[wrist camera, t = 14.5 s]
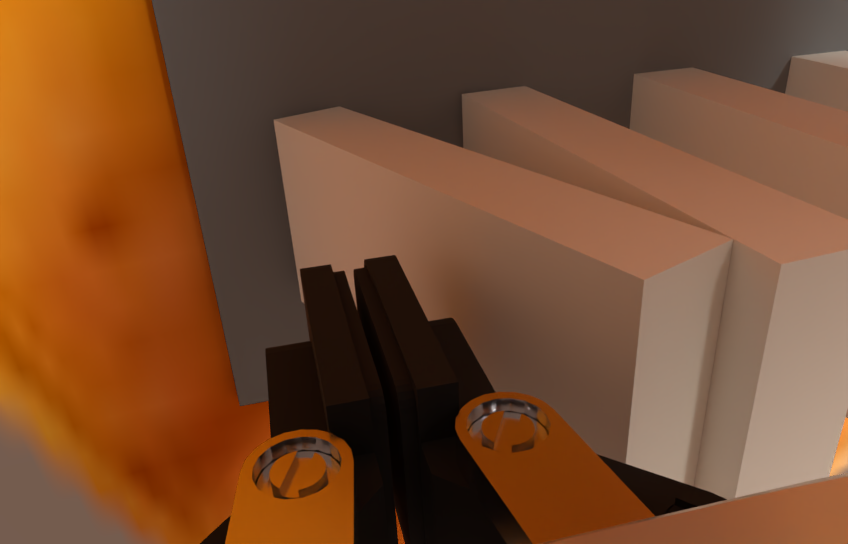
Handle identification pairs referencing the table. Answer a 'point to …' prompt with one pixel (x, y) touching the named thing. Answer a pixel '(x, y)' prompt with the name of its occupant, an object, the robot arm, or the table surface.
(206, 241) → the mat
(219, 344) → the table surface
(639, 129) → the domino
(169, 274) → the table surface
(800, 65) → the domino
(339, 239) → the domino
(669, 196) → the domino
